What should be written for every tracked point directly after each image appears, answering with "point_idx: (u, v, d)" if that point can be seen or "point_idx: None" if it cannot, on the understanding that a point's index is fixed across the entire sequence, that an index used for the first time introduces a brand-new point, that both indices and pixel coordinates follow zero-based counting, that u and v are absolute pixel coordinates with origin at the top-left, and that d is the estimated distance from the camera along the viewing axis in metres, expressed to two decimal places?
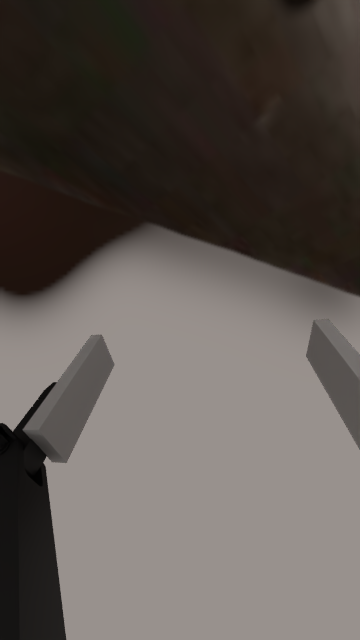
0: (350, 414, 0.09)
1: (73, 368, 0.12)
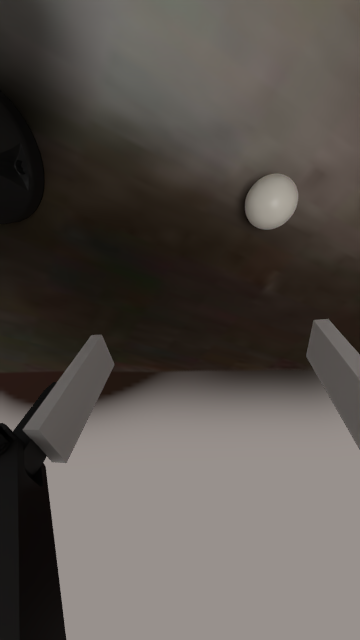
0: (350, 415, 0.09)
1: (73, 368, 0.12)
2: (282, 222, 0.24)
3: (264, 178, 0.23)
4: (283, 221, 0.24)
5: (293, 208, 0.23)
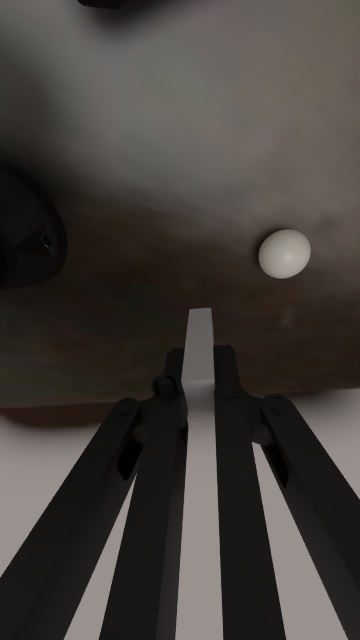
0: None
1: (193, 334, 0.13)
2: (296, 273, 0.25)
3: (277, 236, 0.24)
4: (297, 272, 0.25)
5: (306, 261, 0.24)
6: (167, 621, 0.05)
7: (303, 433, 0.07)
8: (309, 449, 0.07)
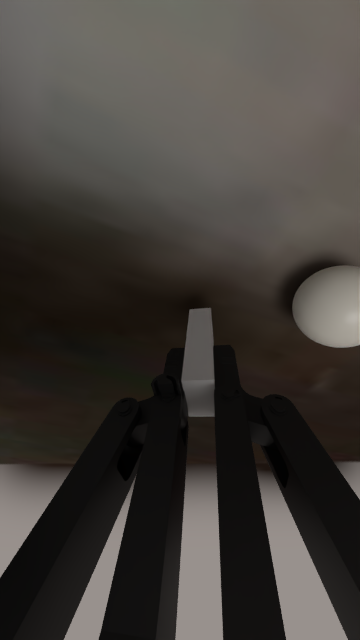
0: None
1: (193, 334, 0.13)
2: None
3: (333, 280, 0.13)
4: None
5: None
6: (167, 621, 0.05)
7: (302, 433, 0.07)
8: (309, 449, 0.07)
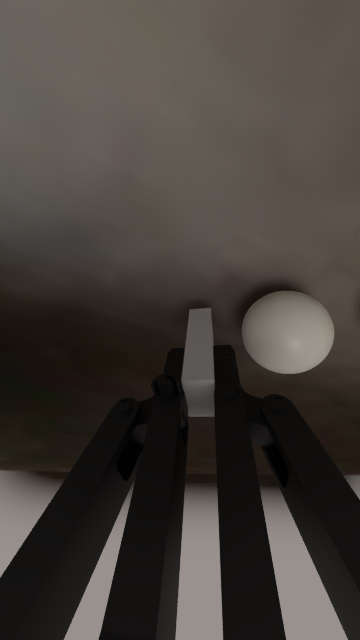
0: None
1: (193, 334, 0.13)
2: None
3: (310, 296, 0.13)
4: None
5: None
6: (167, 621, 0.05)
7: (302, 433, 0.07)
8: (309, 449, 0.07)
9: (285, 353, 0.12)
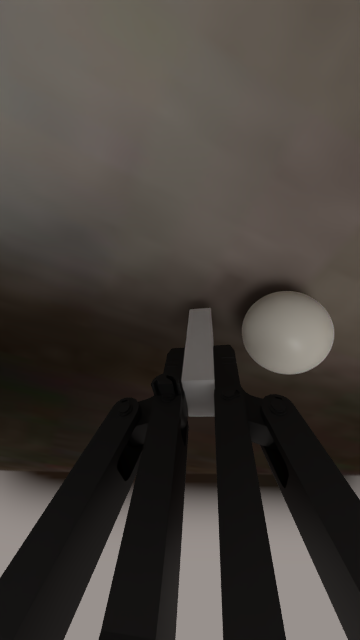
0: None
1: (193, 334, 0.13)
2: None
3: (310, 297, 0.13)
4: None
5: None
6: (167, 621, 0.05)
7: (302, 433, 0.07)
8: (309, 449, 0.07)
9: (285, 353, 0.12)
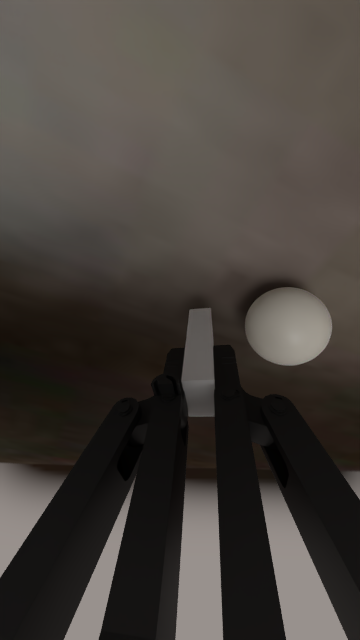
0: None
1: (193, 334, 0.13)
2: None
3: (309, 292, 0.14)
4: None
5: None
6: (167, 621, 0.05)
7: (302, 433, 0.07)
8: (309, 449, 0.07)
9: (285, 345, 0.13)
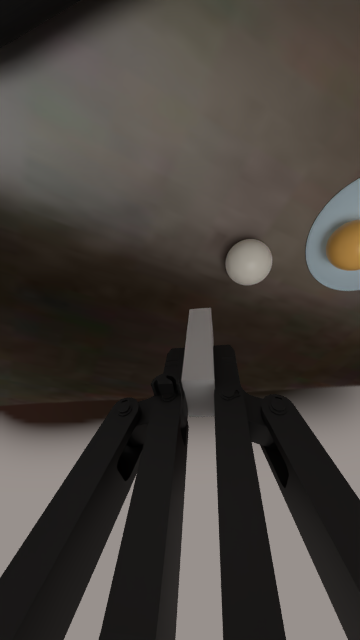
0: None
1: (193, 334, 0.13)
2: None
3: (260, 241, 0.26)
4: None
5: None
6: (167, 621, 0.05)
7: (302, 433, 0.07)
8: (309, 449, 0.07)
9: (245, 267, 0.24)
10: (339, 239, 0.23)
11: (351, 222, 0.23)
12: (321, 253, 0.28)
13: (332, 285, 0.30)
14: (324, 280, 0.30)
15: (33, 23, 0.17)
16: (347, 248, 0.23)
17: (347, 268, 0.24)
